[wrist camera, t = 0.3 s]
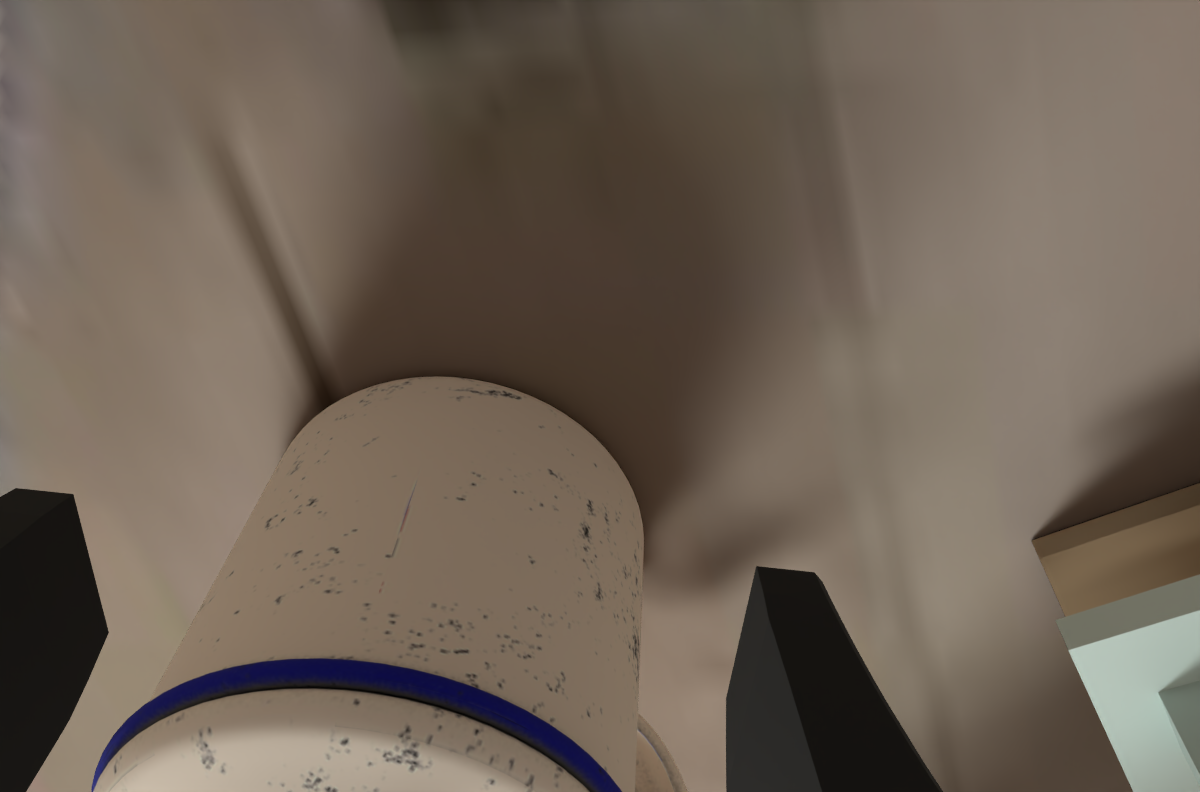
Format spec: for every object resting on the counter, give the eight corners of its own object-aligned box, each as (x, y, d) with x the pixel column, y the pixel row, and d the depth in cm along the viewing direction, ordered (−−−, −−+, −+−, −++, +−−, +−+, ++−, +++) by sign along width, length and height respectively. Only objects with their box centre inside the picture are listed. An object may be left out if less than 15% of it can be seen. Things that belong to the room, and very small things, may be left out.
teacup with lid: (195, 523, 24) (-126, 1052, 14) (422, 276, 20) (188, 775, 11) (570, 759, 28) (515, 1299, 18) (821, 592, 24) (921, 1167, 14)
